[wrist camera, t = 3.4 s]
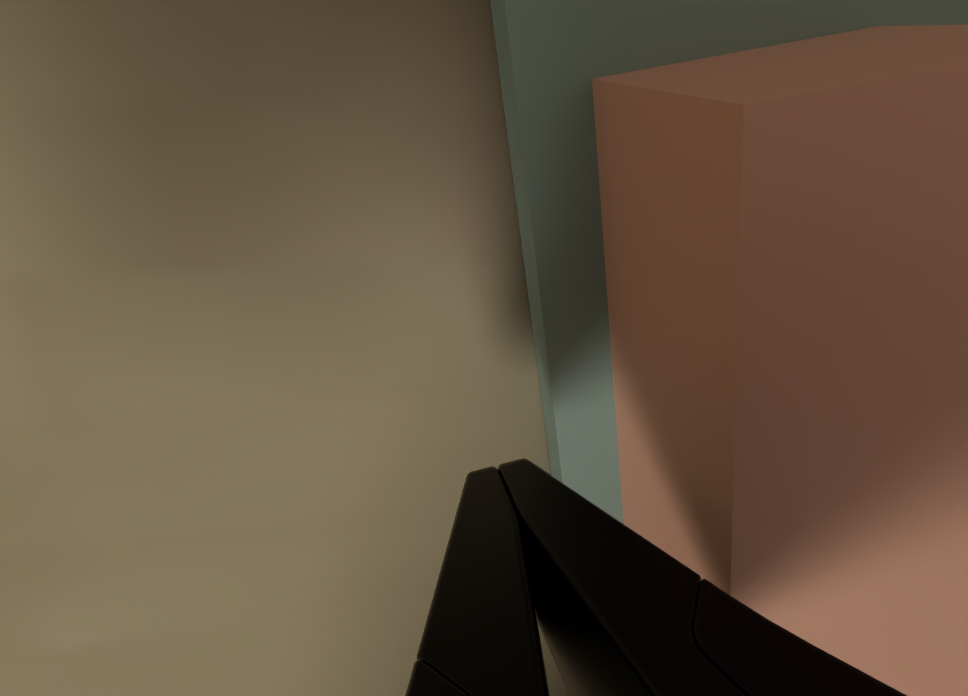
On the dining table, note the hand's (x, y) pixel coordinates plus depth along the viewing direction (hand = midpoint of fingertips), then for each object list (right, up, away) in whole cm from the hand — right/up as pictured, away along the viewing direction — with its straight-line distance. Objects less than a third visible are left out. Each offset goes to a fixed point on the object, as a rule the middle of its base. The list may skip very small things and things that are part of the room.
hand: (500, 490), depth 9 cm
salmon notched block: (+6, +2, +2) cm, 7 cm away
